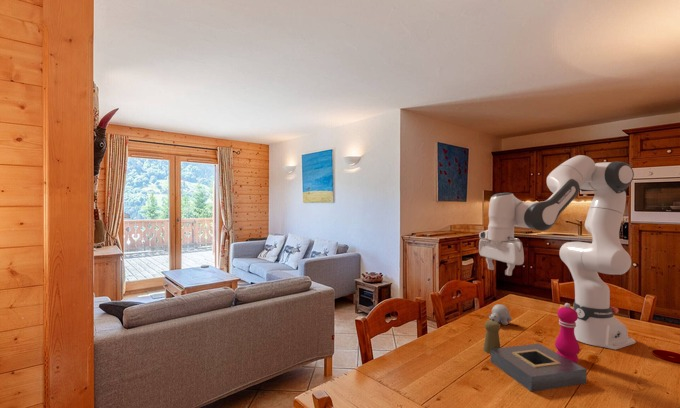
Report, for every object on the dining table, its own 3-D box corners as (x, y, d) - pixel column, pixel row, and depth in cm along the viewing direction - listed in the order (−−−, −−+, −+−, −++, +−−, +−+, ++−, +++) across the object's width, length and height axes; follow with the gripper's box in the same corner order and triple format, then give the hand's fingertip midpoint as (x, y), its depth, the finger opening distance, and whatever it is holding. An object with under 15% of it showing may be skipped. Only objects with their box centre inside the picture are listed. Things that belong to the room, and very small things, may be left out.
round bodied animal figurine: (485, 328, 147) (480, 313, 146) (500, 315, 153) (496, 299, 151) (499, 334, 141) (494, 317, 140) (515, 319, 146) (510, 303, 145)
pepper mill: (575, 355, 117) (575, 301, 116) (583, 365, 110) (583, 307, 110) (552, 352, 119) (552, 299, 119) (558, 362, 112) (558, 305, 112)
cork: (503, 355, 117) (503, 325, 117) (485, 353, 118) (485, 324, 118) (498, 347, 123) (498, 319, 123) (481, 346, 124) (481, 318, 124)
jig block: (538, 355, 117) (539, 342, 117) (586, 383, 99) (586, 368, 99) (490, 361, 113) (490, 348, 112) (531, 391, 95) (531, 375, 95)
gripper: (529, 239, 111) (528, 278, 111) (490, 232, 131) (488, 266, 131) (513, 238, 110) (512, 279, 110) (476, 232, 130) (475, 266, 130)
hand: (499, 272), depth 121 cm, fingers open, 8 cm apart
